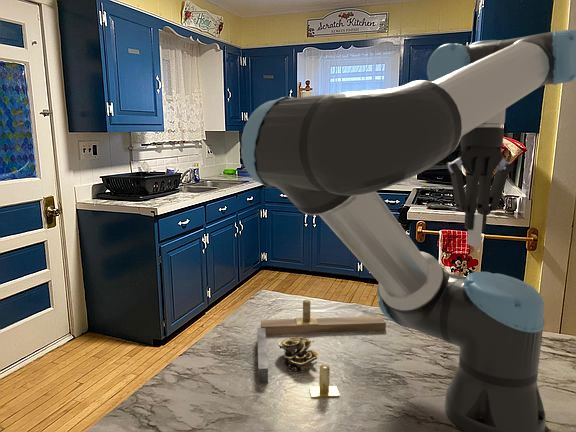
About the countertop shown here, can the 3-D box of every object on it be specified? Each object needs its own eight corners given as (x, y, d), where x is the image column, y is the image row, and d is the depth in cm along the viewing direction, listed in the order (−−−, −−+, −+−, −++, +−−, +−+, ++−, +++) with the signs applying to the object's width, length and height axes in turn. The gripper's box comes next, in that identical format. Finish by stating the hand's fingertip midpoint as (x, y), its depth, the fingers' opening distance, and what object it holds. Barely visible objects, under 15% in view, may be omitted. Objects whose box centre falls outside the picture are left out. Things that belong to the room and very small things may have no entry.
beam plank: (385, 330, 107) (386, 302, 106) (261, 334, 105) (260, 305, 103) (380, 323, 111) (381, 296, 110) (260, 327, 109) (260, 299, 107)
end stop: (268, 383, 84) (268, 368, 84) (258, 383, 84) (258, 368, 83) (265, 340, 102) (265, 328, 101) (257, 340, 102) (257, 328, 101)
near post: (339, 396, 80) (339, 371, 79) (311, 397, 79) (312, 372, 78) (336, 387, 83) (336, 362, 82) (309, 388, 82) (309, 363, 81)
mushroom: (318, 374, 88) (318, 353, 87) (280, 375, 87) (280, 355, 86) (312, 346, 99) (312, 328, 99) (278, 347, 99) (278, 329, 98)
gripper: (504, 127, 90) (494, 240, 94) (441, 127, 89) (434, 241, 93) (526, 126, 83) (515, 249, 87) (459, 126, 82) (450, 250, 86)
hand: (473, 245), depth 90 cm, fingers closed
